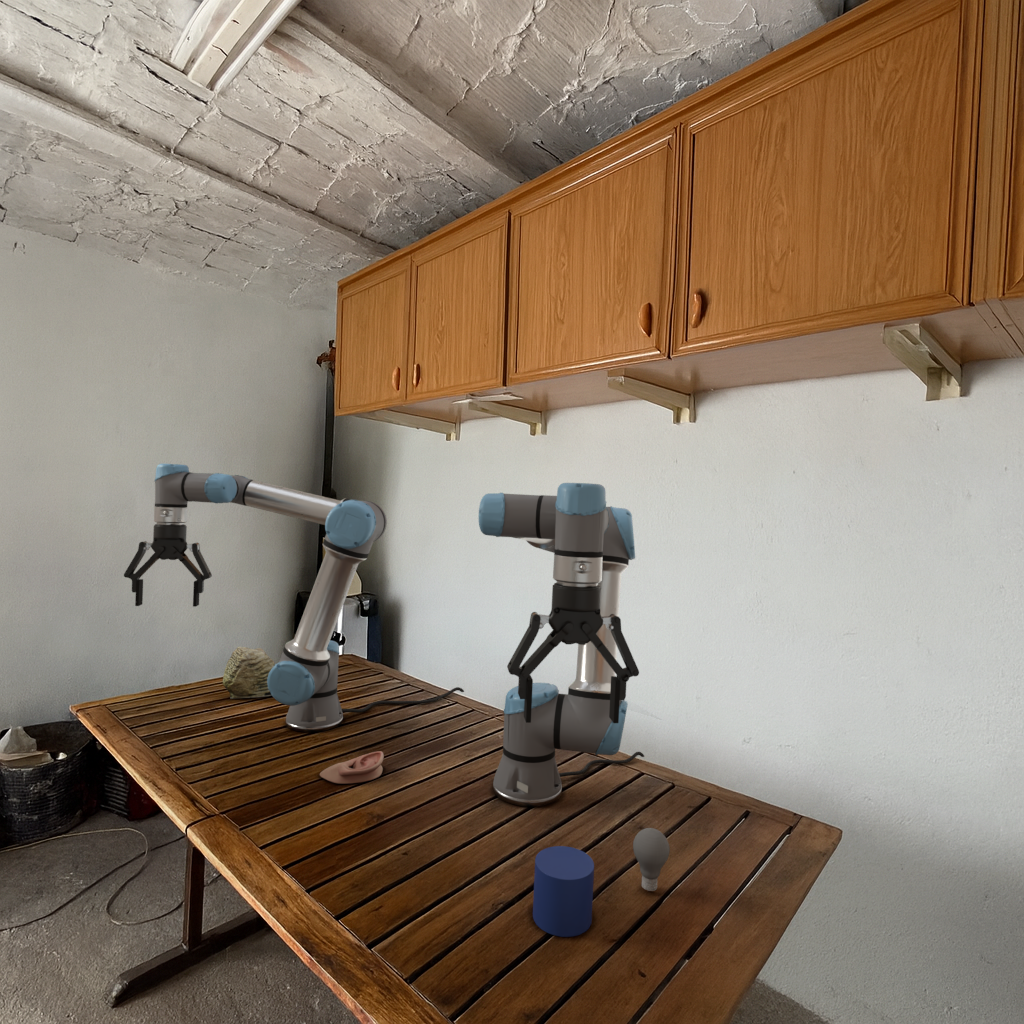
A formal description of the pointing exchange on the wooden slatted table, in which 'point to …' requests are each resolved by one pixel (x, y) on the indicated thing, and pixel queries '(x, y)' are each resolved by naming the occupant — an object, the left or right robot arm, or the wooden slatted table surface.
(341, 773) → the anatomical model
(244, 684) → the fossil
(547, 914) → the cylinder
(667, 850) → the light bulb
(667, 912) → the wooden slatted table surface
